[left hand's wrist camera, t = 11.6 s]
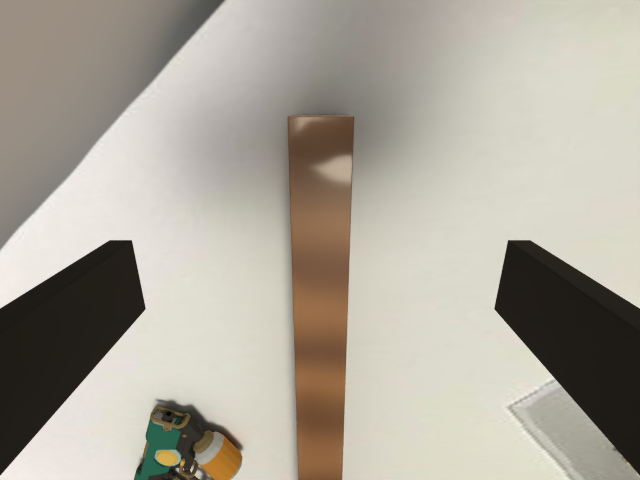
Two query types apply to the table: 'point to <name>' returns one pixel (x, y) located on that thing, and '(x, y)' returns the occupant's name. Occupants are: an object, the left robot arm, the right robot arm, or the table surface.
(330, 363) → the bar
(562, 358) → the left robot arm
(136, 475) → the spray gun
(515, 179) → the table surface
